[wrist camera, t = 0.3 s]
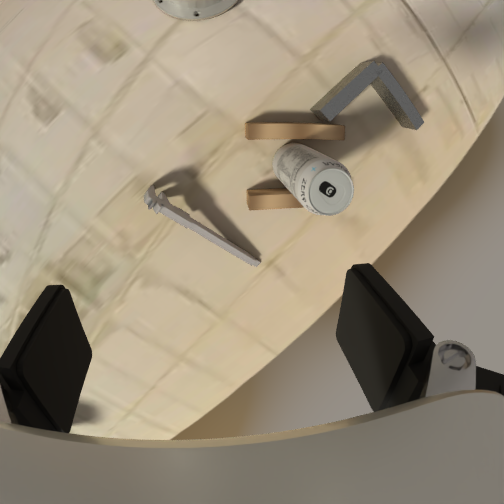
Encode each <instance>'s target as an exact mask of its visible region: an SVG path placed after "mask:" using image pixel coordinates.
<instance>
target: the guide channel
mask: <svg viewBox="0 0 504 504" xmlns="http://www.w3.org/2000/svg"><path fill="white" fill-rule="evenodd" d="M245 137H246V138H247V139H248V140H255V139H324V140H344V138H345V126H343V125H338V124H325V123H292V122H263V123H245ZM247 205H248V207H249V210H264V209H282V208H302V207H303V205H302V204H301V203H300V202H299V201H298V200H297V199H296V198H295V196H294V195H293V194H292V193H291V192H290V191H289V190H288V189H287V188H276V189H255V190H247Z"/></svg>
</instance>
